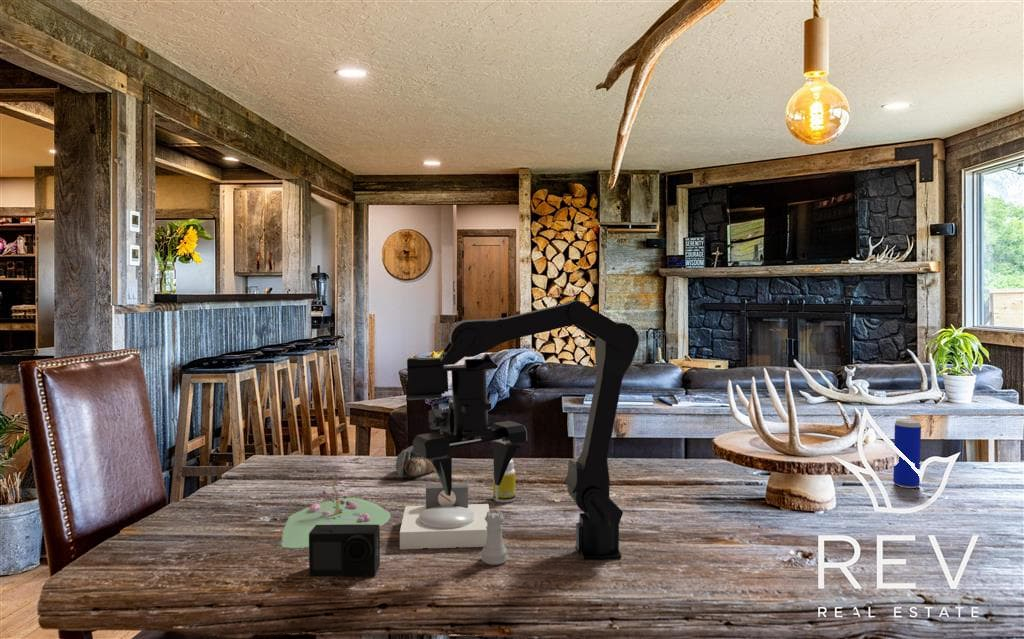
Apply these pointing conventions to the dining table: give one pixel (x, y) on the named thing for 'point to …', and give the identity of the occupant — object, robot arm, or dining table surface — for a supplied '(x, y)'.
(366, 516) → the plant
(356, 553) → the digital camera
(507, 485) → the supplement bottle
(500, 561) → the rook chess piece
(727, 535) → the dining table surface
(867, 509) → the dining table surface
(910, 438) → the beverage can
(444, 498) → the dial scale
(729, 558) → the dining table surface
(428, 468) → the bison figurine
